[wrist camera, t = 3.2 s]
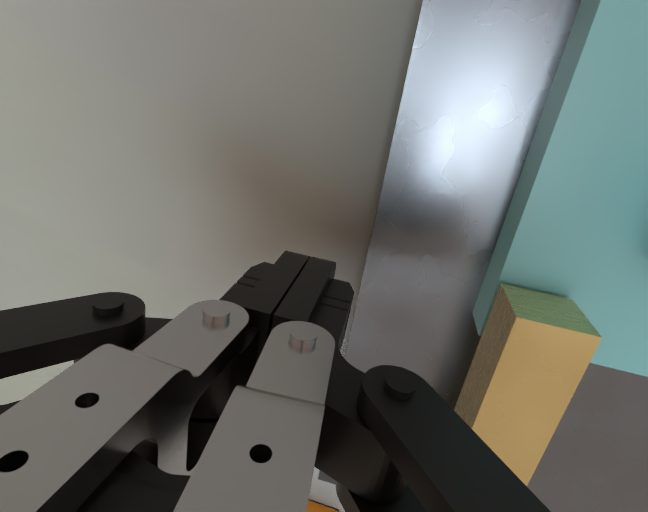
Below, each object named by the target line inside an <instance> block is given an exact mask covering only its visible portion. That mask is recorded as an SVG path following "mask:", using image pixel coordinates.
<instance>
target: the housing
mask: <svg viewBox="0 0 648 512" xmlns="http://www.w3.org/2000/svg"><path fill="white" fill-rule="evenodd" d="M580 3H581V0H423V3H422V7H421V12H420V16H419V21H418V25H417V30H416V35H415V39H414V44H413V48H412V53H411V57H410V62H409V66H408V71H407V76H406V80H405V85H404V89H403V94H402V98H401V103H400V107H399V112H398V117H397V121H396V126H395V130H394V135H393V139H392V144H391V148H390V153H389V158H388V162H387V167H386V171H385V176H384V180H383V185H382V190H381V194H380V199H379V203H378V208H377V212H376V217H375V221H374V226H373V231H372V235H371V240H370V244H369V249H368V253H367V258H366V262H365V267H364V272H363V276H362V281H361V285H360V290H359V294H358V299H357V303H356V308H355V313H354V317H353V322H352V326H351V331H350V335H349V340H348V344H347V349H346V354H345V358H344V359H345V360H346V361H347V362H348V363H349V364H351V365H352V366H353V367H355V368H357V369H358V370H360V371H362V372H364V373H366V372H367V371H368V370H369V369H371V368H373V367H376V366H380V365H393V366H398V367H402V368H405V369H408V370H410V371H412V372H414V373H416V374H417V375H419V376H420V377H422V378H423V379H424V380H425V381H426V382H427V383H428V384H429V385H430V386H431V387H432V388H433V389H434V390H435V391H436V392H437V393H438V394H439V395H440V396H441V397H442V398H443V399H444V401H445V402H446V403H447V404H448V405H449V406H450V407H451V408H452V409H453V410H454V409H455V406H456V404H457V401H458V398H459V396H460V393H461V390H462V387H463V385H464V382H465V379H466V377H467V374H468V371H469V368H470V366H471V363H472V360H473V358H474V355H475V352H476V349H477V347H478V344H479V341H480V339H481V336H479V335H478V332H477V328H476V325H475V321H474V317H473V313H472V312H473V309H474V306H475V304H476V301H477V298H478V295H479V292H480V289H481V286H482V283H483V281H484V278H485V275H486V272H487V269H488V266H489V263H490V261H491V258H492V255H493V252H494V249H495V246H496V243H497V241H498V238H499V235H500V232H501V229H502V226H503V223H504V221H505V218H506V215H507V212H508V209H509V206H510V203H511V200H512V198H513V195H514V192H515V189H516V186H517V183H518V180H519V178H520V175H521V172H522V169H523V166H524V163H525V160H526V158H527V155H528V152H529V149H530V146H531V143H532V140H533V138H534V135H535V132H536V129H537V126H538V123H539V120H540V118H541V115H542V112H543V109H544V106H545V103H546V100H547V97H548V95H549V92H550V89H551V86H552V83H553V80H554V77H555V75H556V72H557V69H558V66H559V63H560V60H561V57H562V55H563V52H564V49H565V46H566V43H567V40H568V37H569V35H570V32H571V29H572V26H573V23H574V20H575V17H576V14H577V12H578V9H579V6H580ZM318 479H320V480H323V481H326V482H330V483H333V484H336V482H337V481H336V480H334V479H333V478H331V477H330V476H328V475H327V474H325V473H324V472H322V471H321V470H320V472H319V477H318ZM527 487H528V488H529V489H530V490H531V491H532V492H533V493H534V495H535V496H536V497H537V498H538V499H539V500H540V501H541V502H542V503H543V504H544V505H545V506H546V507H547V508H548V509H549V510H550V511H551V512H648V377H646V376H642V375H638V374H634V373H630V372H626V371H622V370H618V369H614V368H609V367H605V366H601V365H597V364H593V363H589V365H588V367H587V369H586V371H585V373H584V375H583V377H582V379H581V381H580V383H579V385H578V386H577V388H576V390H575V392H574V394H573V396H572V398H571V400H570V402H569V404H568V406H567V408H566V410H565V412H564V414H563V416H562V418H561V420H560V422H559V424H558V426H557V428H556V430H555V432H554V434H553V436H552V438H551V440H550V442H549V444H548V446H547V448H546V450H545V452H544V454H543V456H542V457H541V459H540V461H539V463H538V465H537V467H536V469H535V471H534V473H533V475H532V477H531V479H530V481H529V483H528V485H527Z"/></svg>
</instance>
